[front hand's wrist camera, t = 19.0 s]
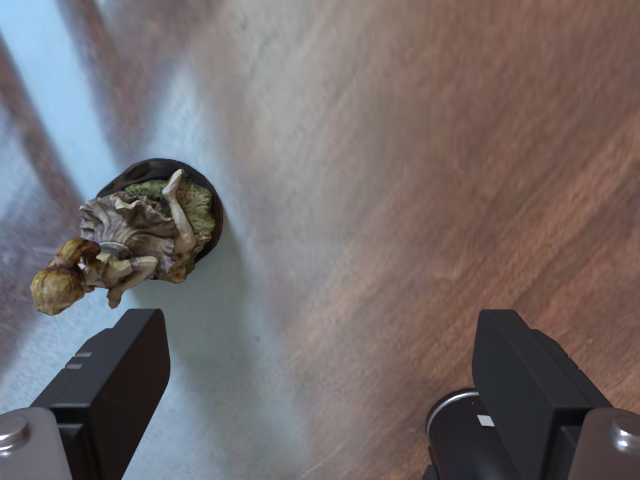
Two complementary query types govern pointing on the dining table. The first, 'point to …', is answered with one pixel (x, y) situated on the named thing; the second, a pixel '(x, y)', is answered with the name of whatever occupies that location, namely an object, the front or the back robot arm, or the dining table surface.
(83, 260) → the figurine
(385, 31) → the dining table surface
